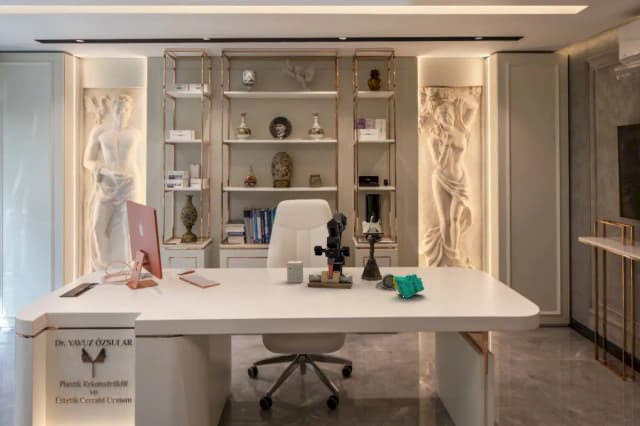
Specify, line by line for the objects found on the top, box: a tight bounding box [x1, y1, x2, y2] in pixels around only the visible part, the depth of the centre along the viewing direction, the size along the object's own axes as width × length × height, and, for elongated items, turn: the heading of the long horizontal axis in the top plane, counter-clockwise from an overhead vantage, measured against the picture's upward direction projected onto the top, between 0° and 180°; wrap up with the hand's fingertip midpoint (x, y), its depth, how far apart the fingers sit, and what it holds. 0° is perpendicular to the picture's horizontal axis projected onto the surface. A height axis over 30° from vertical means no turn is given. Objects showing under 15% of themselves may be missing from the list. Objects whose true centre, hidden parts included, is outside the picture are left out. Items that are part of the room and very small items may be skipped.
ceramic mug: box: [375, 272, 395, 290], centre depth 247 cm, size 10×8×7 cm
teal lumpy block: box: [393, 273, 425, 299], centre depth 229 cm, size 15×12×13 cm
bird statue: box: [361, 215, 385, 281], centre depth 267 cm, size 17×13×35 cm
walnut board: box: [307, 279, 354, 290], centre depth 253 cm, size 12×22×2 cm, turn 81°
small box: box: [286, 260, 304, 283], centre depth 261 cm, size 8×6×10 cm
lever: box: [326, 258, 333, 280], centre depth 251 cm, size 2×3×11 cm
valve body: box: [308, 270, 353, 284], centre depth 252 cm, size 4×22×6 cm, turn 81°
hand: (330, 264), depth 252 cm, fingers closed, pressing on lever
